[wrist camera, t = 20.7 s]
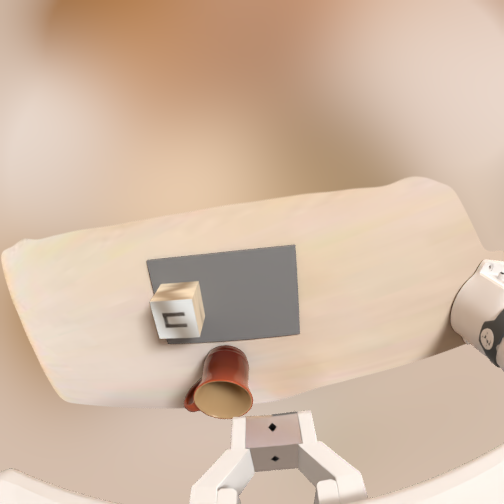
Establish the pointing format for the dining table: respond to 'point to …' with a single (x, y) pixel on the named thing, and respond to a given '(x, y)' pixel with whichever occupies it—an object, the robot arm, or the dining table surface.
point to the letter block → (178, 310)
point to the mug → (222, 385)
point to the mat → (238, 291)
